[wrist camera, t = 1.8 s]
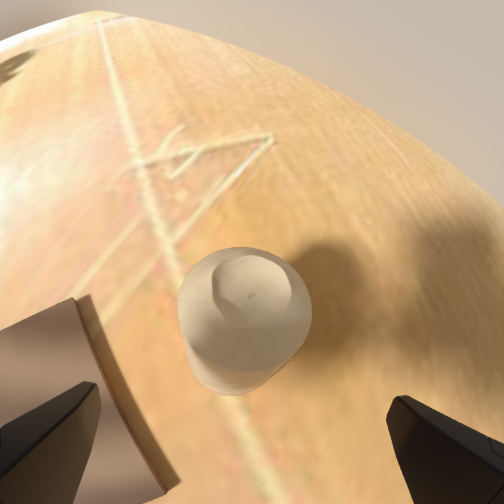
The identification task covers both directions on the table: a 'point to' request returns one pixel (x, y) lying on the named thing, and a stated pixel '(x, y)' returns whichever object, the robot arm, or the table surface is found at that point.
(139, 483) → the walnut slab
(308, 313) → the candle
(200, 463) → the table surface
